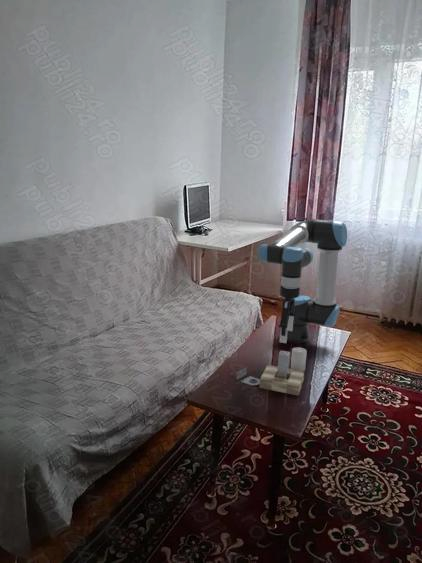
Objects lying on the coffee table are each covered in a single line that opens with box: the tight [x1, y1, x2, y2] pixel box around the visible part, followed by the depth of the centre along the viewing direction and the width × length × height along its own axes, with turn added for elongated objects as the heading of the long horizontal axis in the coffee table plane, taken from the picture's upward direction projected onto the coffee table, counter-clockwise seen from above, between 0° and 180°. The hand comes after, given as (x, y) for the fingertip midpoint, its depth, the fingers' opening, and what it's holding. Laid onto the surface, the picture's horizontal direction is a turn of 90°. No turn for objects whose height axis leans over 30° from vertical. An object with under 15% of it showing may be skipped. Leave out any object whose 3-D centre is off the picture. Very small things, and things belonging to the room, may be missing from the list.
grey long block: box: [277, 350, 291, 380], centre depth 173 cm, size 4×4×14 cm
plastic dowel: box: [290, 347, 308, 372], centre depth 188 cm, size 6×6×9 cm
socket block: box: [259, 364, 305, 396], centre depth 174 cm, size 14×16×4 cm
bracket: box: [236, 367, 260, 386], centre depth 176 cm, size 7×10×4 cm, turn 48°
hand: (286, 336), depth 170 cm, fingers open, 13 cm apart
